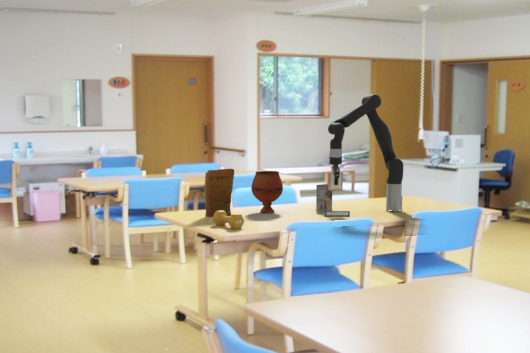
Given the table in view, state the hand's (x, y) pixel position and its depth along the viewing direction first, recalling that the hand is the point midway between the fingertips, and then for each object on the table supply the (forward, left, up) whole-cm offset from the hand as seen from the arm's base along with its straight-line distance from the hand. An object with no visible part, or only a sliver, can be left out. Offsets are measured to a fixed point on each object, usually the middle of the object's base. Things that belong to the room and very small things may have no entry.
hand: (335, 184), depth 445 cm
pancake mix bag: (+70, +5, -19) cm, 73 cm away
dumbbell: (+67, +42, -19) cm, 81 cm away
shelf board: (0, +2, -18) cm, 18 cm away
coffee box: (+3, -18, -19) cm, 26 cm away
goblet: (+40, -10, -18) cm, 45 cm away
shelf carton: (0, 0, -3) cm, 3 cm away
